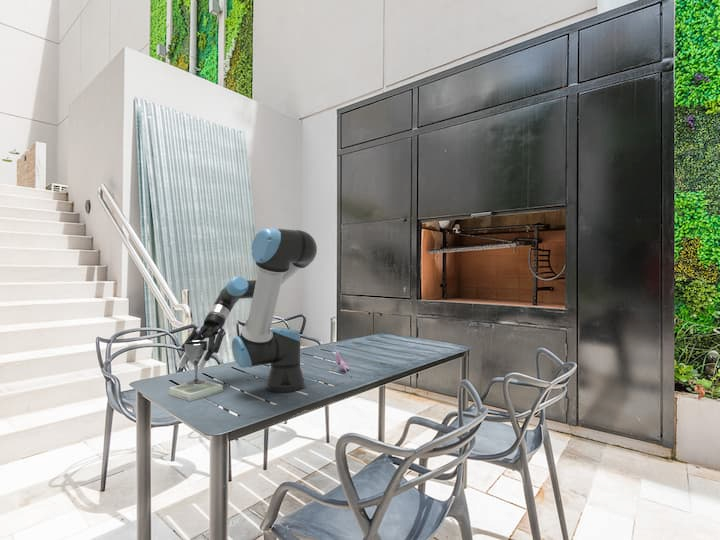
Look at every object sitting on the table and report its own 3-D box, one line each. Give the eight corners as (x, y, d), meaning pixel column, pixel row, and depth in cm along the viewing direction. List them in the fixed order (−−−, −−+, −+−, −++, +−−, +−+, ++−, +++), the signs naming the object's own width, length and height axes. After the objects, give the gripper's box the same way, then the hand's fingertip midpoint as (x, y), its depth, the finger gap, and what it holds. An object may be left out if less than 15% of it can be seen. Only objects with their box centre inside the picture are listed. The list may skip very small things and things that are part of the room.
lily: (337, 378, 171) (348, 359, 172) (318, 365, 177) (328, 346, 177) (349, 380, 181) (359, 362, 182) (330, 367, 187) (340, 349, 188)
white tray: (222, 391, 149) (222, 385, 149) (189, 401, 138) (189, 394, 138) (202, 385, 157) (202, 379, 157) (169, 394, 146) (169, 387, 146)
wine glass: (179, 383, 146) (179, 343, 146) (197, 377, 153) (197, 339, 153) (194, 386, 142) (194, 345, 142) (211, 380, 150) (211, 341, 149)
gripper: (242, 324, 160) (218, 374, 144) (199, 322, 165) (171, 370, 150) (235, 313, 155) (209, 363, 139) (190, 311, 160) (161, 359, 145)
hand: (190, 366), depth 145 cm, fingers closed on wine glass, 8 cm apart
